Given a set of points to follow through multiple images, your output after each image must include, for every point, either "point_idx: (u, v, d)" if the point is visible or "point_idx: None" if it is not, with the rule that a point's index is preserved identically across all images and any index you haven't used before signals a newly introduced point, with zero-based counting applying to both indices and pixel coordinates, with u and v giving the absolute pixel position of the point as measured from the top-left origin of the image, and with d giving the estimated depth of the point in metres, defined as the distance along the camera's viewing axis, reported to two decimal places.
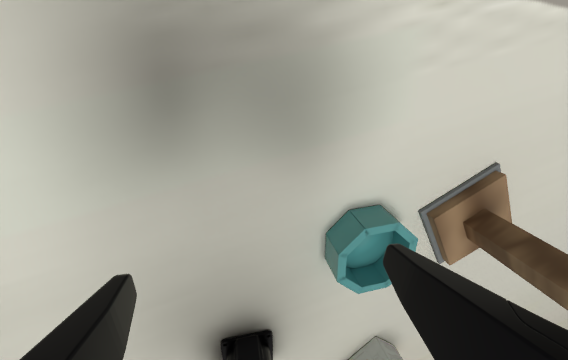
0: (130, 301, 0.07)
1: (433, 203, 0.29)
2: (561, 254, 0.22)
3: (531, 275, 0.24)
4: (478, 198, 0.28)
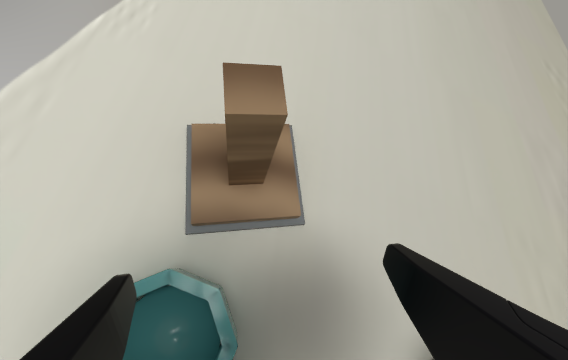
0: (130, 301, 0.07)
1: (186, 212, 0.21)
2: None
3: (249, 146, 0.15)
4: (202, 159, 0.22)
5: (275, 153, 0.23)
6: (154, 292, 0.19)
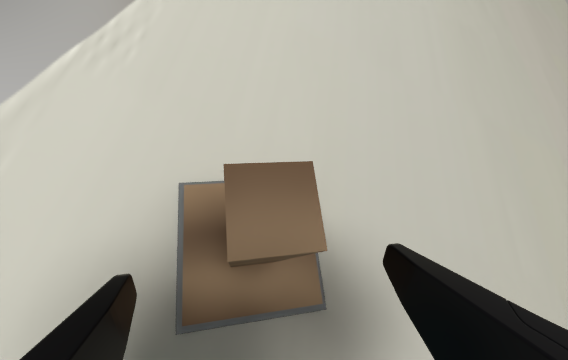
0: (130, 301, 0.07)
1: None
2: None
3: None
4: (198, 233, 0.17)
5: None
6: None
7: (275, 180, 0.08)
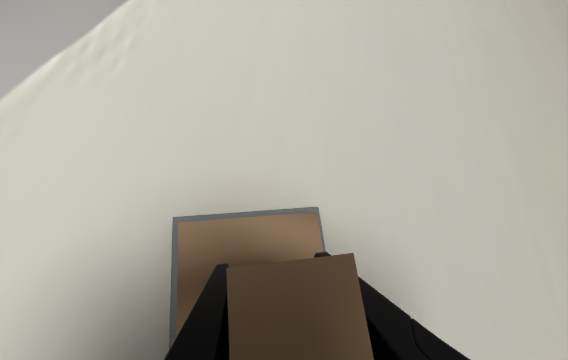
0: None
1: None
2: None
3: None
4: (194, 282, 0.15)
5: None
6: None
7: (302, 289, 0.06)
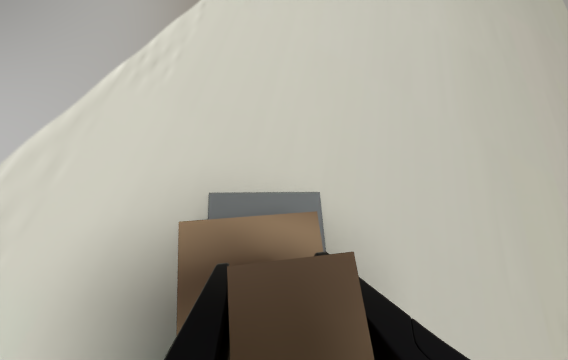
0: None
1: None
2: None
3: None
4: (195, 281, 0.15)
5: None
6: None
7: (302, 288, 0.06)
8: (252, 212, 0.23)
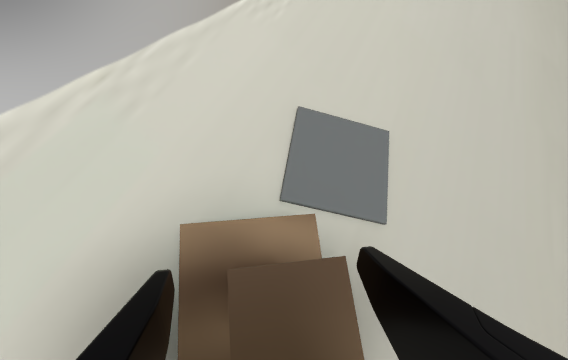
0: (171, 296, 0.08)
1: (283, 181, 0.23)
2: None
3: None
4: (195, 282, 0.15)
5: None
6: None
7: (297, 290, 0.06)
8: (331, 130, 0.26)
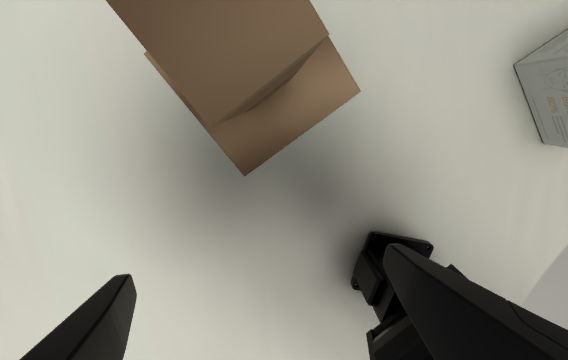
0: (130, 301, 0.07)
1: None
2: None
3: (265, 93, 0.08)
4: None
5: None
6: None
7: None
8: None
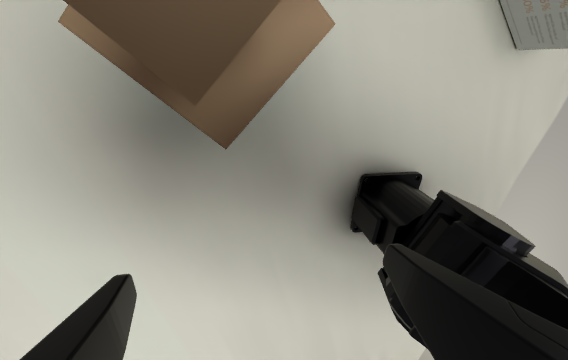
0: (130, 301, 0.07)
1: None
2: None
3: None
4: None
5: None
6: None
7: None
8: None
